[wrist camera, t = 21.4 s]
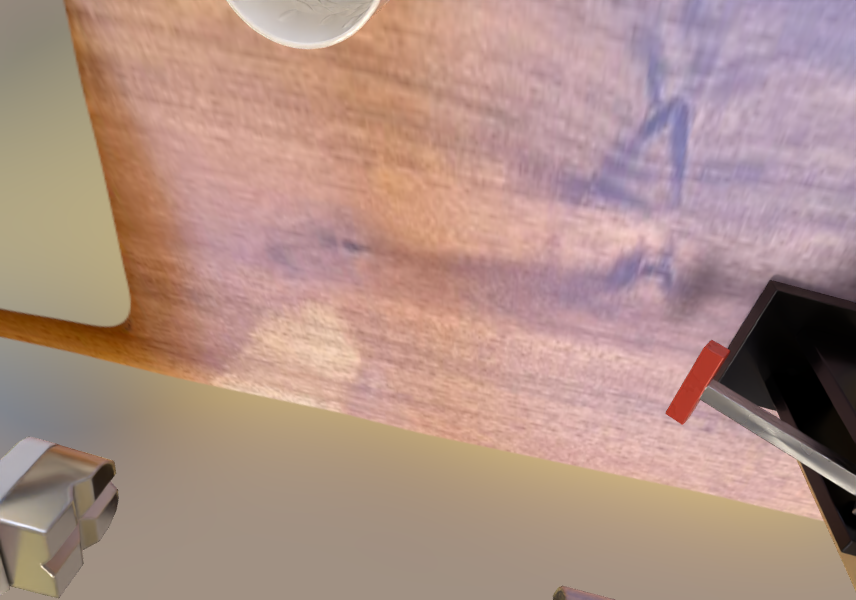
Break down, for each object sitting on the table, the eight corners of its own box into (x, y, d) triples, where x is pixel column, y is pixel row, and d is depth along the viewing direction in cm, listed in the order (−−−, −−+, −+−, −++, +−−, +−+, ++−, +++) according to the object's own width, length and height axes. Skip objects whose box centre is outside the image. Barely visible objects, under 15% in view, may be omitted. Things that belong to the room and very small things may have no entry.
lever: (675, 401, 40) (660, 418, 38) (715, 335, 37) (700, 350, 35) (896, 542, 34) (890, 569, 32) (964, 476, 31) (961, 502, 29)
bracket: (706, 381, 45) (767, 560, 33) (770, 279, 40) (868, 445, 28) (841, 418, 45) (952, 612, 33) (921, 319, 40) (1088, 504, 28)
